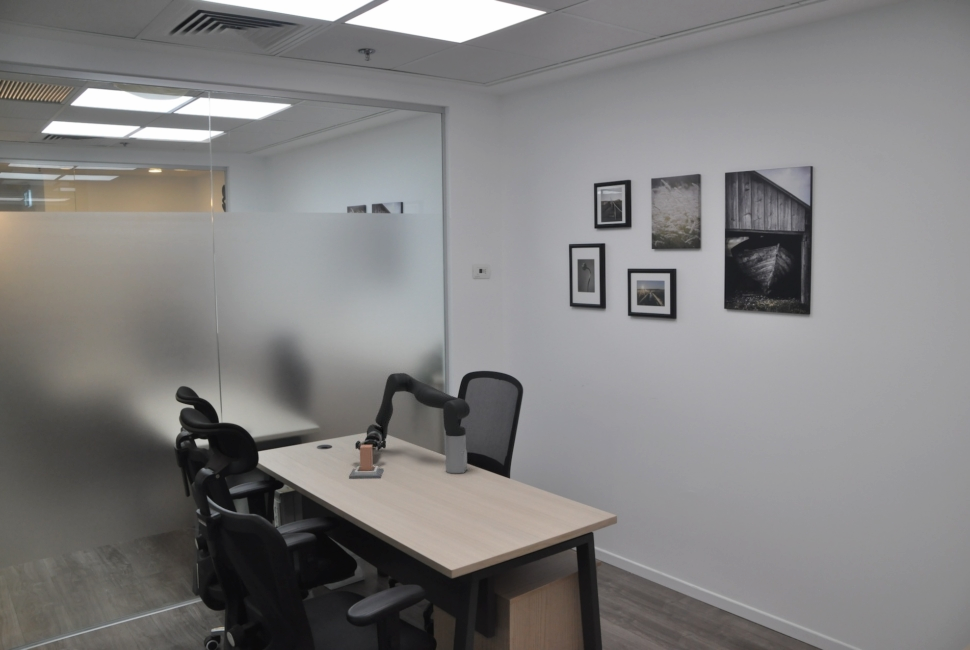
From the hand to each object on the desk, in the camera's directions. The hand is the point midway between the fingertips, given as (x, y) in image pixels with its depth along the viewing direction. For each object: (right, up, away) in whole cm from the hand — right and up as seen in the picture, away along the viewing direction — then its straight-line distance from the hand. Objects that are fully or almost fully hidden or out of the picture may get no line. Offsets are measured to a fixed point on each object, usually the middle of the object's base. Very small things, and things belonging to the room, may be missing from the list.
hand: (369, 448), depth 341 cm
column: (+1, -9, -10) cm, 14 cm away
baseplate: (0, -10, -10) cm, 15 cm away
